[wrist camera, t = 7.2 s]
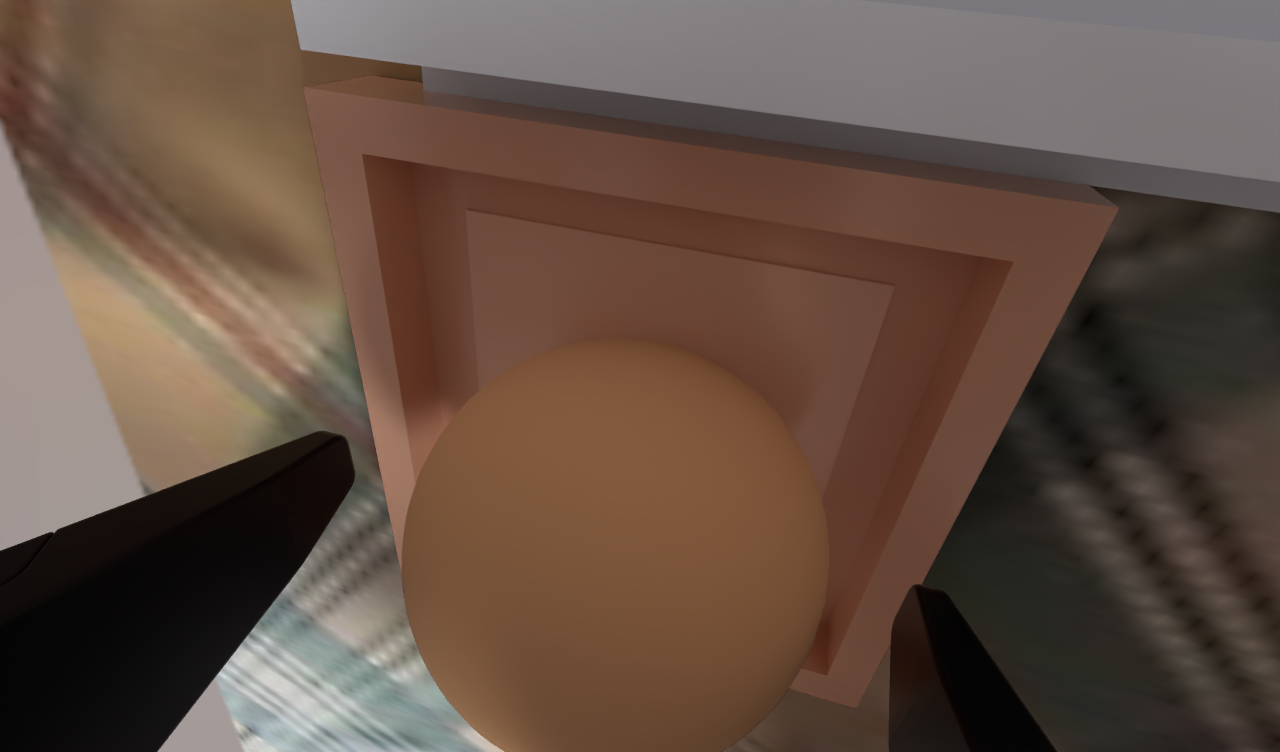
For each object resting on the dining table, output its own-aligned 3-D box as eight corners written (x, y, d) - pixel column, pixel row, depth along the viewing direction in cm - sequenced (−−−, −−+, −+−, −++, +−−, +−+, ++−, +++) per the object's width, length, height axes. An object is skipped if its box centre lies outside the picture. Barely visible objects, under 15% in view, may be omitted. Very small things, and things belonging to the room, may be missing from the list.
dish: (853, 641, 14) (856, 708, 13) (437, 525, 16) (400, 573, 14) (1073, 174, 8) (1119, 208, 7) (371, 75, 10) (303, 87, 9)
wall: (1494, 232, 7) (1831, 352, 5) (443, 85, 10) (313, 115, 7) (1701, 0, 6) (2306, 2, 4) (428, -104, 8) (261, -146, 6)
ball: (772, 553, 13) (789, 910, 8) (499, 506, 13) (352, 816, 8) (848, 300, 10) (961, 635, 5) (484, 249, 10) (227, 504, 5)
